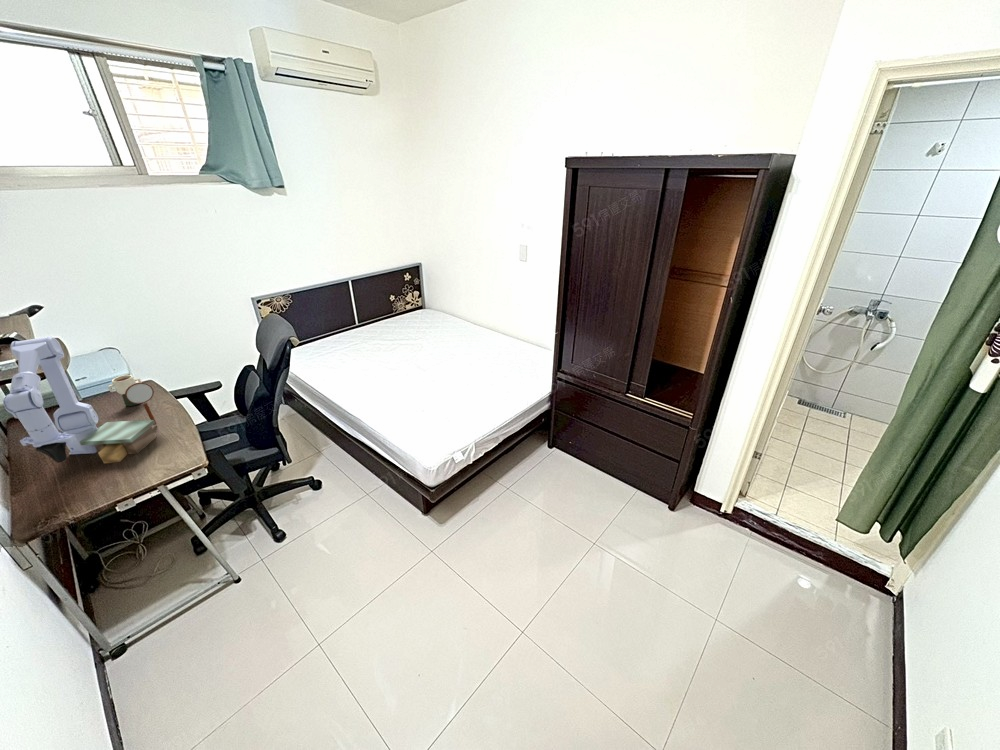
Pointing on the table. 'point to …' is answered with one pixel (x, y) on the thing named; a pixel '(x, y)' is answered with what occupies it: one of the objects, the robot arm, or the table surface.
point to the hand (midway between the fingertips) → (62, 460)
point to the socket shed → (122, 435)
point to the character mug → (123, 386)
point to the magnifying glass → (140, 396)
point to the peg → (113, 453)
